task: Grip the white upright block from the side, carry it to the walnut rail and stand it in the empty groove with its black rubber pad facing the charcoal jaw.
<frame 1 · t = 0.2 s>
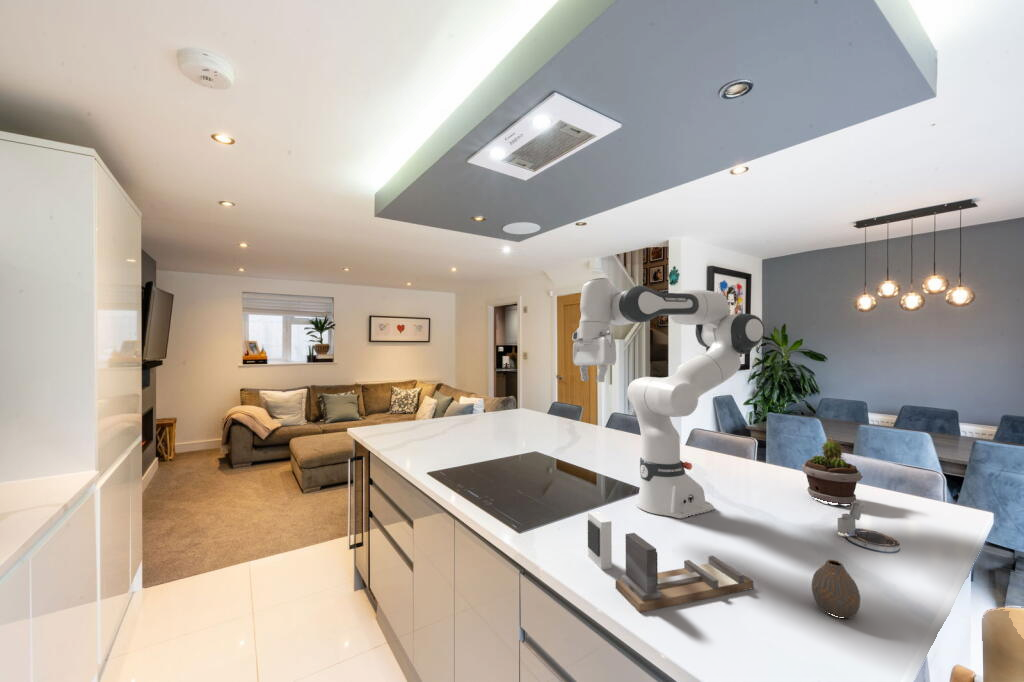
hand: (592, 381, 118), 38 cm above the worktop, tool pointing down, fingers open, 8 cm apart
vase: (835, 613, 74), on the worktop
lighter: (850, 535, 106), on the worktop
rail: (684, 588, 81), on the worktop
white upright block: (599, 562, 91), on the worktop
flowerpot: (831, 501, 130), on the worktop
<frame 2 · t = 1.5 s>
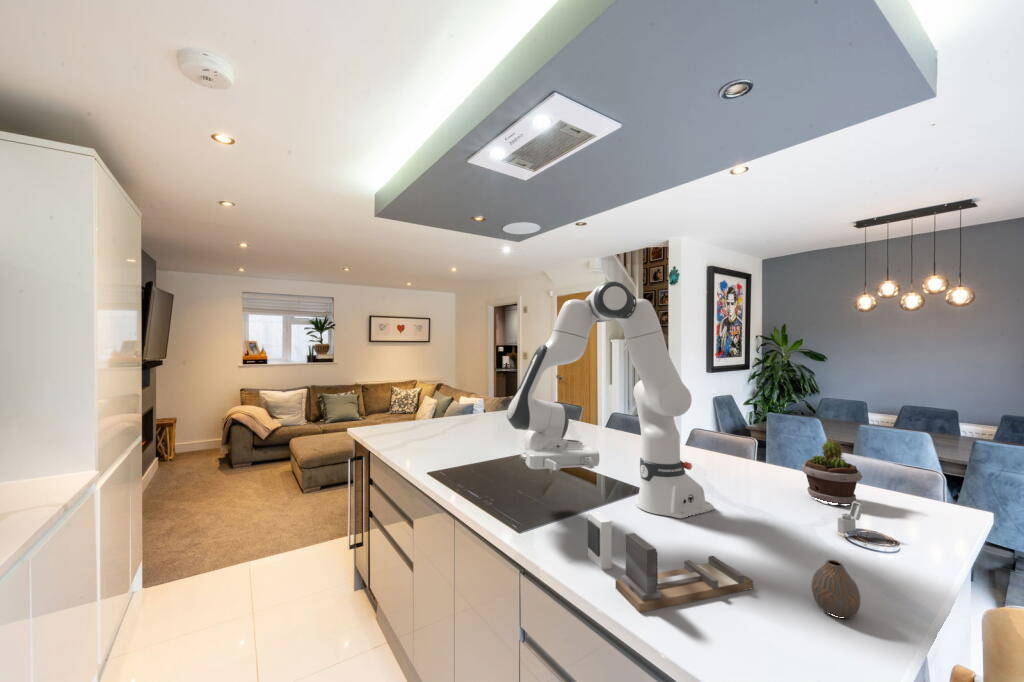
hand: (575, 466, 103), 18 cm above the worktop, tool horizontal, fingers open, 8 cm apart
nothing on the worktop moved.
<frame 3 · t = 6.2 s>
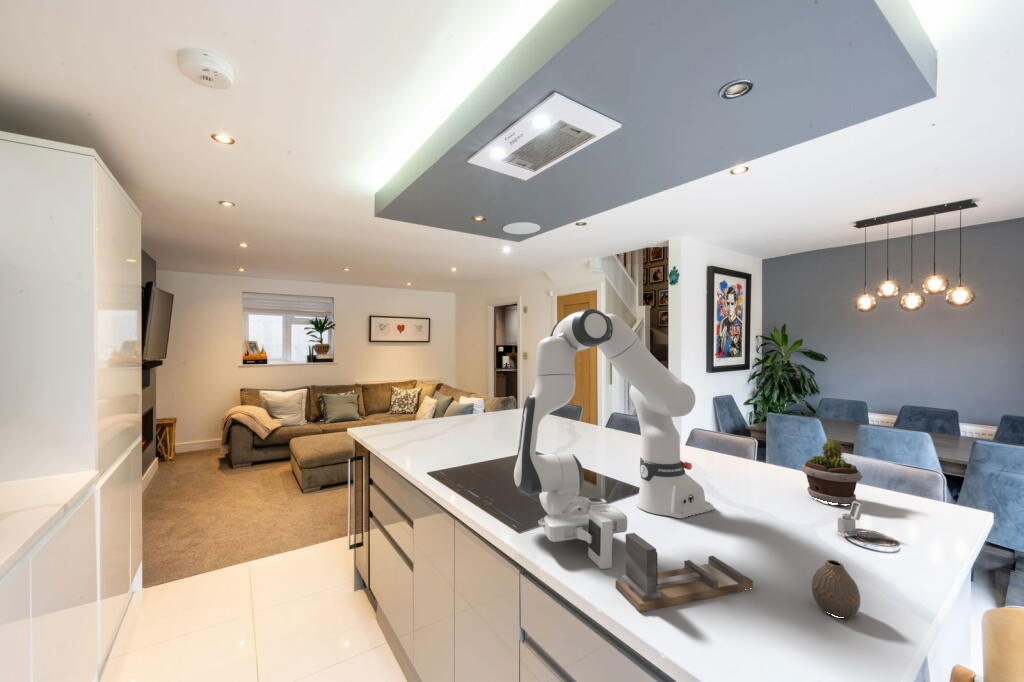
hand: (601, 538, 91), 6 cm above the worktop, tool horizontal, fingers closed on white upright block, 3 cm apart
white upright block: (599, 561, 91), on the worktop, touching gripper
everything else where it was.
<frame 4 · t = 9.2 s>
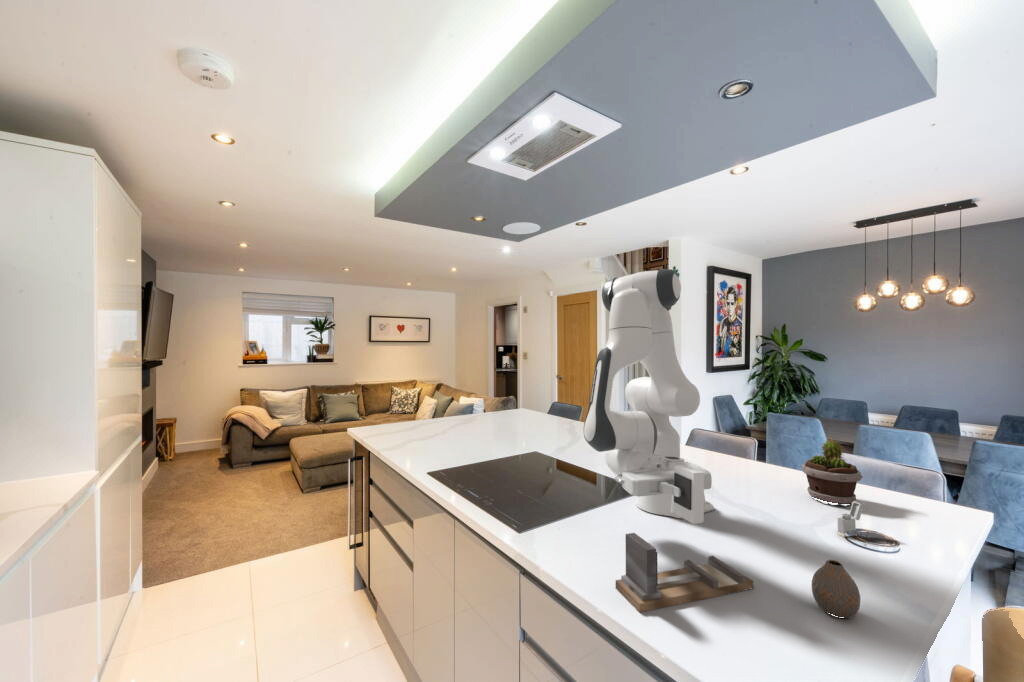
hand: (690, 492, 85), 18 cm above the worktop, tool horizontal, fingers closed on white upright block, 3 cm apart
white upright block: (687, 517, 85), point 12 cm above the worktop, touching gripper
everything else where it was.
when the fingers open (8 cm above the worktop, at t = 12.2 s): white upright block moves 1 cm, resting on rail.
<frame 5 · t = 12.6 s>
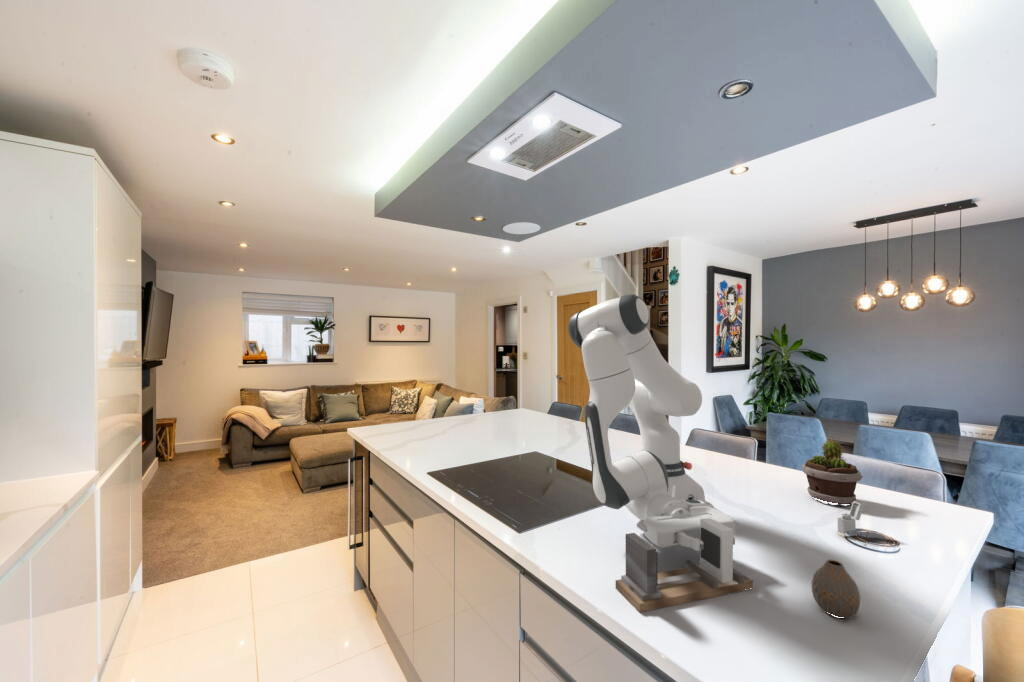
hand: (716, 544, 83), 8 cm above the worktop, tool horizontal, fingers open, 6 cm apart
white upright block: (715, 574, 83), point 2 cm above the worktop, touching rail
everything else where it was.
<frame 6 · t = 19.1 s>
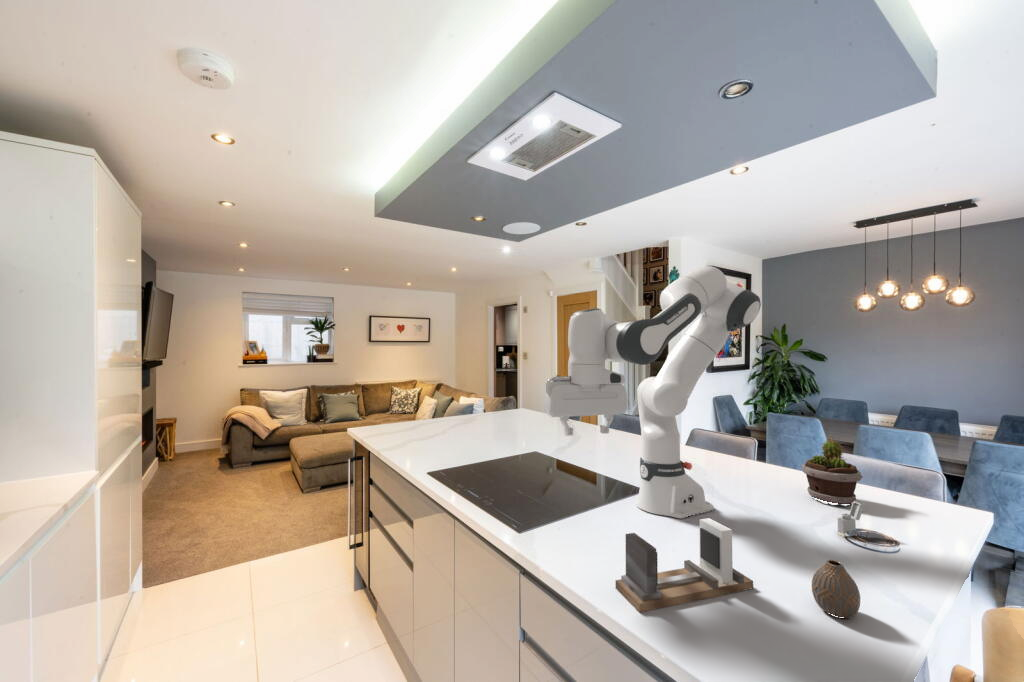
hand: (586, 434, 98), 27 cm above the worktop, tool pointing down, fingers open, 8 cm apart
nothing on the worktop moved.
at the end: white upright block 0.6 cm from the target spot on the rail, point 1.6 cm above the rail's base; white upright block tilted 0°; the gripper is holding nothing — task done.
